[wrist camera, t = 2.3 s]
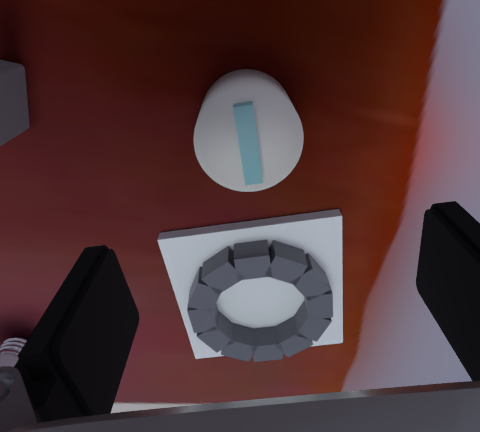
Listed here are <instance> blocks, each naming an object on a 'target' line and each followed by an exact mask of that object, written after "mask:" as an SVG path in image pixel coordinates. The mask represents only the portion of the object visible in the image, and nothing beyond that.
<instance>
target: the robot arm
mask: <svg viewBox="0 0 480 432" xmlns="http://www.w3.org/2000/svg"><path fill="white" fill-rule="evenodd" d="M416 286H417V289H418V292H419V294H420V295H421V297H422V299H423V301H424V302H425V304H426V305H427V307H428V309H429V310H430V312H431V313H432V315H433V317H434V318H435V320H436V322H437V323H438V325H439V327H440V328H441V330H442V332H443V333H444V335H445V337H446V338H447V340H448V341H449V343H450V345H451V346H452V348H453V350H454V351H455V353H456V355H457V356H458V358H459V359H460V361H461V363H462V364H463V366H464V368H465V369H466V371H467V373H468V374H469V376H470V377H471V379H472V381H470V382H455V383H442V384H429V385H417V386H406V387H394V388H382V389H370V390H358V391H346V392H334V393H323V394H312V395H301V396H289V397H278V398H267V399H256V400H245V401H234V402H223V403H213V404H202V405H192V406H181V407H171V408H160V409H150V410H139V411H130V412H120V413H112V414H110V413H111V409H112V406H113V403H114V400H115V397H116V394H117V390H118V387H119V384H120V381H121V378H122V375H123V371H124V368H125V365H126V362H127V359H128V355H129V352H130V349H131V346H132V343H133V339H134V336H135V333H136V330H137V327H138V323H139V313H138V310H137V307H136V305H135V302H134V300H133V297H132V295H131V292H130V290H129V287H128V285H127V282H126V280H125V277H124V275H123V272H122V270H121V267H120V264H119V262H118V259H117V257H116V254H115V252H114V251H113V250H112V249H108V247H107V246H105V245H102V246H94V247H87V248H85V249H84V250H83V252H82V253H81V255H80V257H79V258H78V260H77V261H76V263H75V265H74V266H73V268H72V269H71V271H70V273H69V274H68V276H67V277H66V279H65V281H64V282H63V284H62V285H61V287H60V289H59V290H58V292H57V293H56V295H55V297H54V298H53V300H52V301H51V303H50V305H49V306H48V308H47V309H46V311H45V313H44V314H43V316H42V317H41V319H40V321H39V322H38V324H37V325H36V327H35V329H34V330H33V332H32V333H31V335H30V337H29V338H28V340H27V341H26V343H25V345H24V346H23V348H22V349H21V351H20V353H19V354H18V358H19V359H18V361H17V363H16V364H15V366H14V367H11V366H2V367H0V432H480V223H479V222H477V221H476V220H475V219H474V218H473V217H472V216H471V215H470V214H469V213H468V212H467V211H466V210H465V209H464V208H462V207H461V206H460V205H459V204H458V203H457V202H455V201H454V202H444V203H436V204H433V205H432V206H431V208H430V209H428V210H426V211H425V214H424V222H423V229H422V237H421V245H420V253H419V261H418V270H417V277H416Z"/></svg>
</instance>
